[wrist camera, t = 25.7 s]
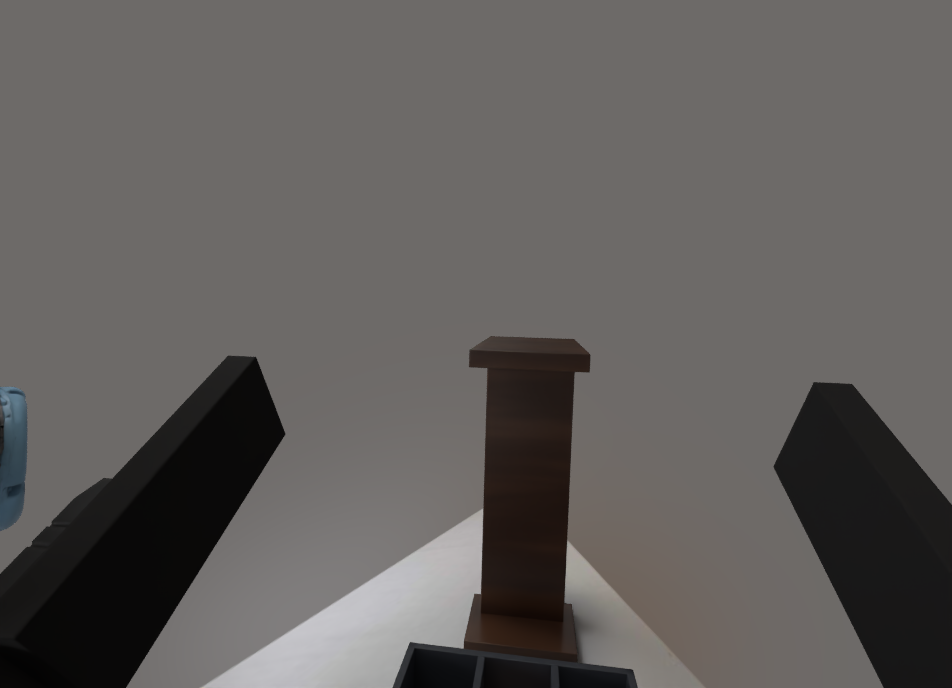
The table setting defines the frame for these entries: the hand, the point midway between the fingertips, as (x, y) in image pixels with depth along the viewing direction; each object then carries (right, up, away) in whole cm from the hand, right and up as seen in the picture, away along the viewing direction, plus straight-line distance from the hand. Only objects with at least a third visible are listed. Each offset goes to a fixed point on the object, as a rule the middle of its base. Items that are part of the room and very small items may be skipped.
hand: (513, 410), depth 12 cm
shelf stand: (+3, -26, +29) cm, 39 cm away
